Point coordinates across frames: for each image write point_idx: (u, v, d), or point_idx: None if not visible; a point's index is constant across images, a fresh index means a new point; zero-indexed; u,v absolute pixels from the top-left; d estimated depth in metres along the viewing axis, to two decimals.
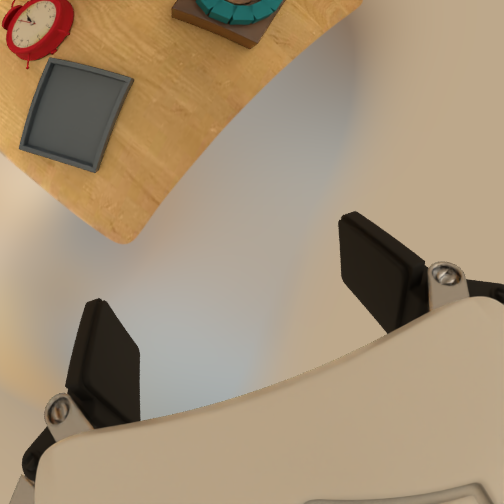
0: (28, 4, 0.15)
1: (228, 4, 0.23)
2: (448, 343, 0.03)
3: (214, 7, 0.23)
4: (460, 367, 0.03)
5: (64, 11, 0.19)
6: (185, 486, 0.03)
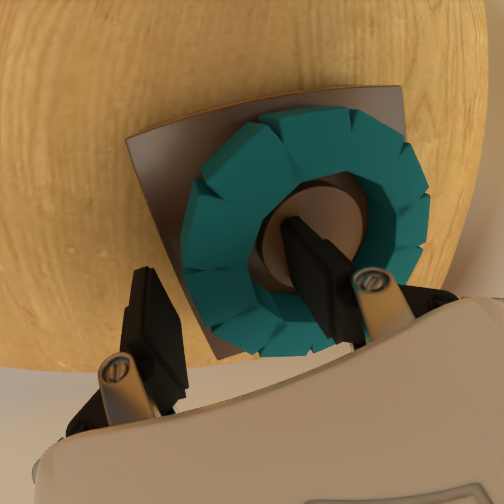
0: None
1: (245, 289, 0.10)
2: (448, 343, 0.03)
3: (204, 272, 0.09)
4: (460, 367, 0.03)
5: None
6: (185, 487, 0.03)
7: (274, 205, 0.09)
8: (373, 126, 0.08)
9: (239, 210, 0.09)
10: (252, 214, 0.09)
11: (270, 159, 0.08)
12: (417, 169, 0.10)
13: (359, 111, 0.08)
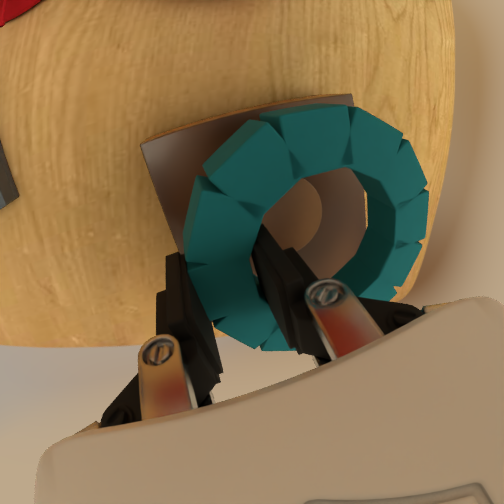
0: None
1: (247, 283, 0.10)
2: (448, 343, 0.03)
3: (206, 266, 0.10)
4: (460, 367, 0.03)
5: None
6: (185, 487, 0.03)
7: (275, 200, 0.09)
8: (372, 123, 0.08)
9: (241, 205, 0.09)
10: (254, 210, 0.09)
11: (271, 155, 0.08)
12: (416, 165, 0.10)
13: (358, 109, 0.08)
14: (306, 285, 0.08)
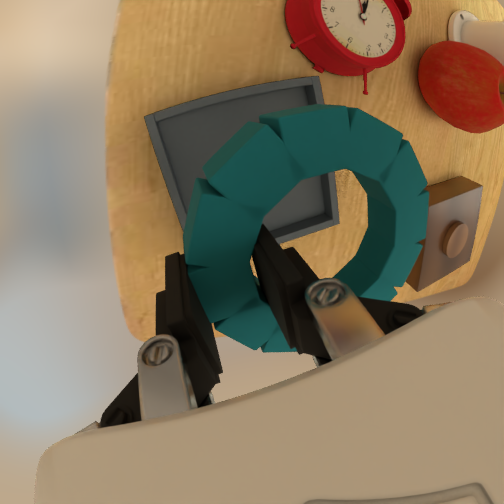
0: None
1: (247, 285, 0.10)
2: (448, 343, 0.03)
3: (207, 269, 0.10)
4: (460, 367, 0.03)
5: None
6: (185, 487, 0.03)
7: (275, 203, 0.09)
8: (371, 124, 0.08)
9: (241, 208, 0.09)
10: (254, 212, 0.09)
11: (271, 158, 0.08)
12: (416, 166, 0.10)
13: (357, 110, 0.08)
14: (306, 285, 0.08)
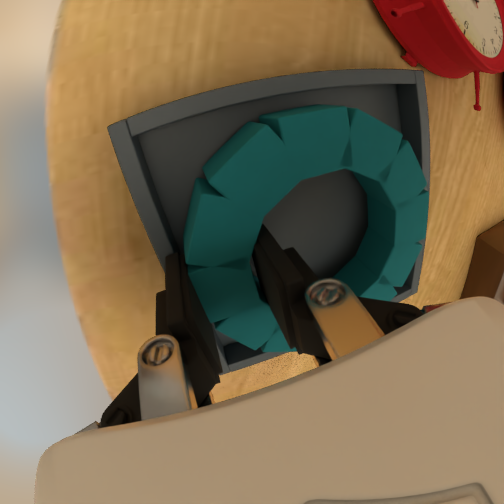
0: None
1: (247, 285, 0.10)
2: (448, 343, 0.03)
3: (207, 269, 0.10)
4: (460, 367, 0.03)
5: None
6: (185, 487, 0.03)
7: (275, 203, 0.09)
8: (371, 124, 0.08)
9: (241, 208, 0.09)
10: (254, 212, 0.09)
11: (270, 158, 0.08)
12: (415, 166, 0.10)
13: (357, 110, 0.08)
14: (306, 285, 0.08)
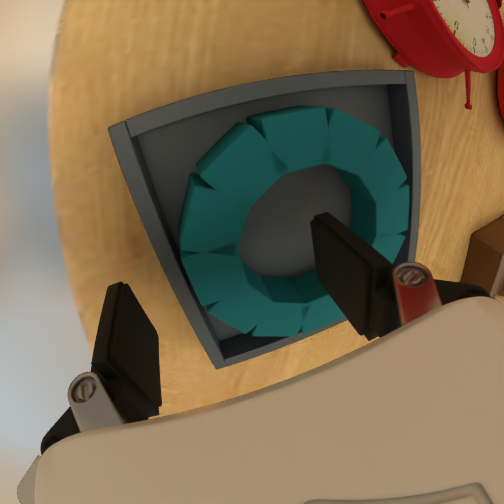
0: None
1: (236, 270, 0.11)
2: (448, 343, 0.03)
3: (199, 254, 0.11)
4: (460, 367, 0.03)
5: None
6: (185, 487, 0.03)
7: (260, 194, 0.10)
8: (349, 123, 0.10)
9: (229, 199, 0.10)
10: (241, 203, 0.10)
11: (255, 154, 0.09)
12: (394, 161, 0.11)
13: (335, 110, 0.09)
14: None
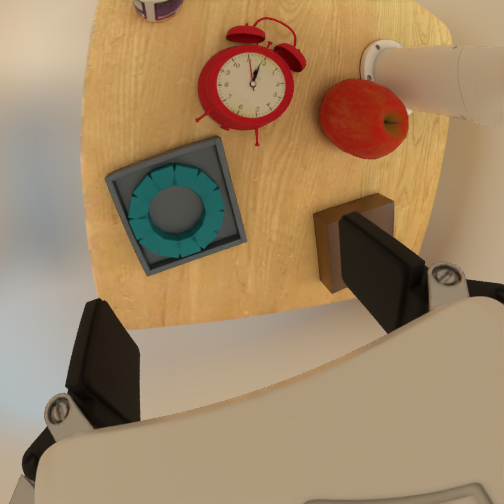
0: (272, 55, 0.24)
1: (147, 225, 0.30)
2: (448, 343, 0.03)
3: (134, 219, 0.29)
4: (460, 367, 0.03)
5: None
6: (185, 487, 0.03)
7: (152, 198, 0.29)
8: (182, 169, 0.28)
9: (142, 200, 0.29)
10: (146, 201, 0.29)
11: (149, 185, 0.28)
12: (207, 180, 0.30)
13: (176, 166, 0.28)
14: None
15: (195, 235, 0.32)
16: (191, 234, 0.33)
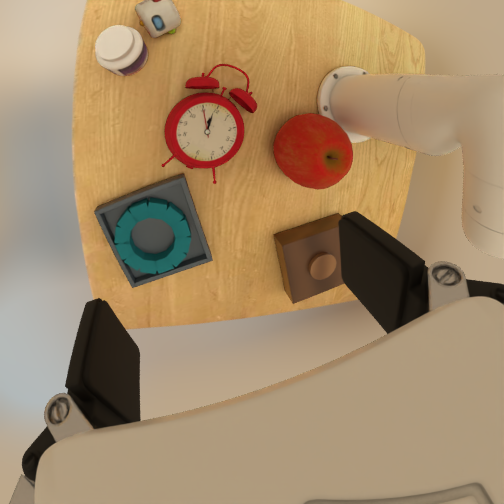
0: (224, 103, 0.30)
1: (129, 248, 0.37)
2: (448, 343, 0.03)
3: (119, 244, 0.36)
4: (460, 367, 0.03)
5: None
6: (185, 487, 0.03)
7: (132, 228, 0.36)
8: (154, 205, 0.35)
9: (124, 229, 0.36)
10: (127, 230, 0.36)
11: (129, 218, 0.35)
12: (175, 213, 0.36)
13: (149, 202, 0.35)
14: None
15: (168, 256, 0.39)
16: (165, 255, 0.40)
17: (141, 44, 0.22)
